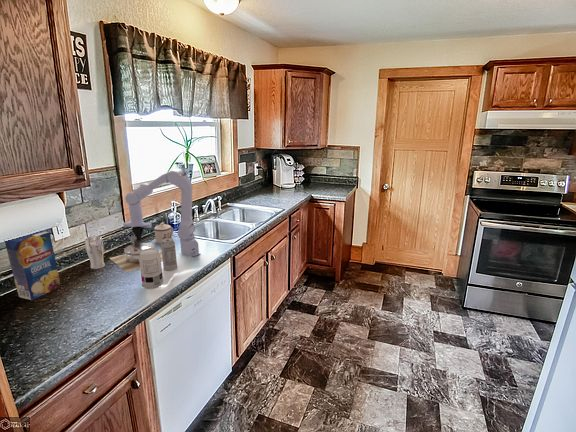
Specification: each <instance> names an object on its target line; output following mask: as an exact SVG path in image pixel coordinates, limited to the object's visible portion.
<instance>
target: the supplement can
mask: <svg viewBox="0 0 576 432" xmlns="http://www.w3.org/2000/svg"><path fill="white" fill-rule="evenodd" d="M158 250H159V249H158ZM158 250H157V248H156V249H146V250H143V251H141V252H140V255H139V263H140V268H139V270H140V277H141V283H142V284H141V285H142V287H143V288H145V289H146V290H147V289H149V290H151V289H157V288H159V287H161V286H162V284H163V283H164V277H163V268H162V262H161V257H160V253H159V252H158Z"/></svg>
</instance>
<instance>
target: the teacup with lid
mask: <svg viewBox="0 0 576 432" xmlns="http://www.w3.org/2000/svg"><path fill="white" fill-rule="evenodd" d="M153 230H154V235H155V236H154V237H155V243H157V244H161V243H162V240H163V239H166V238H172V239H173V234H174V227H172V226H171V225H170V224H165V222H164V221H163V222H160V224H158V225H156V226H155V227H154V228H153Z"/></svg>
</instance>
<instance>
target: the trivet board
mask: <svg viewBox="0 0 576 432" xmlns="http://www.w3.org/2000/svg"><path fill="white" fill-rule="evenodd" d="M154 249H157V248H156V247H154ZM157 250H158V252H159V253H160V257H161V263H163V259H162V250H161V251H160V249H157ZM109 259H110V260H111V261H112V262H114V263H115V264H116V265H117V266H118V267H120V268H121V269H122V270H123V271H124V272H126V273H128V272H132V271H135V270H138V269H139V270H140V263H139V264H132V263H128V262H127V261H126V254H125V253H123V254H121V255H117V256H113V257H109Z"/></svg>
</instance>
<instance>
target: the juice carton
mask: <svg viewBox="0 0 576 432" xmlns="http://www.w3.org/2000/svg"><path fill="white" fill-rule="evenodd" d="M39 231H40V232H36V233H33V234H30V235H27V236H23V237H19V238H16V239H12V240H8V241H5V240H4V244H5V248H6V252H7V256H8V260H9V263H10V267H11V271H12V276H13V279H14V284H15V288H16V292H17V297H18V298H21V299H25V300H30V301H34V300H36V299H37V298H40V297H42V296H44V295H46V294H47V293H48V294H49V293H50V292H52V291H54V290H56V289H58V288H60V287H62V284H61V280H60V275H59V271H58V266H57V262H56V256H55V251H54V246H53V242H52V237H51V232H50V231H46V230H45V231H44V230H39Z"/></svg>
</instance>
